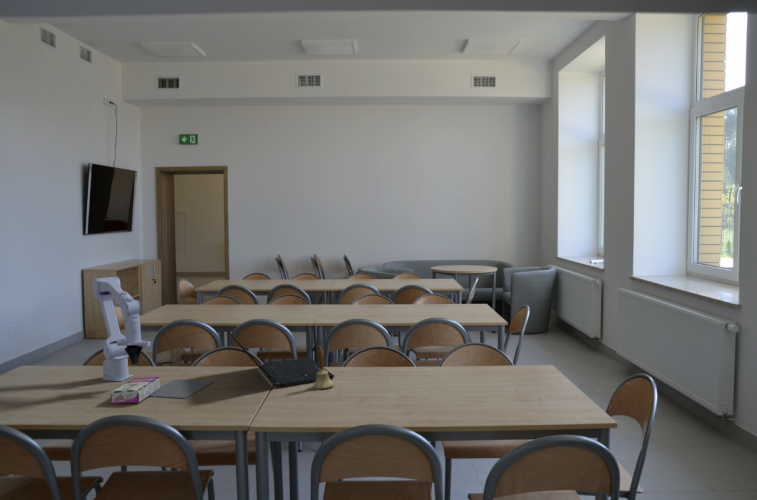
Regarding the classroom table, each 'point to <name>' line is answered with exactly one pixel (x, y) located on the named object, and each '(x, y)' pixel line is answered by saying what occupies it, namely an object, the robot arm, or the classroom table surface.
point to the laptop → (289, 370)
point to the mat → (180, 388)
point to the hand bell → (322, 373)
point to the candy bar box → (135, 390)
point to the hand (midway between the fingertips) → (134, 363)
